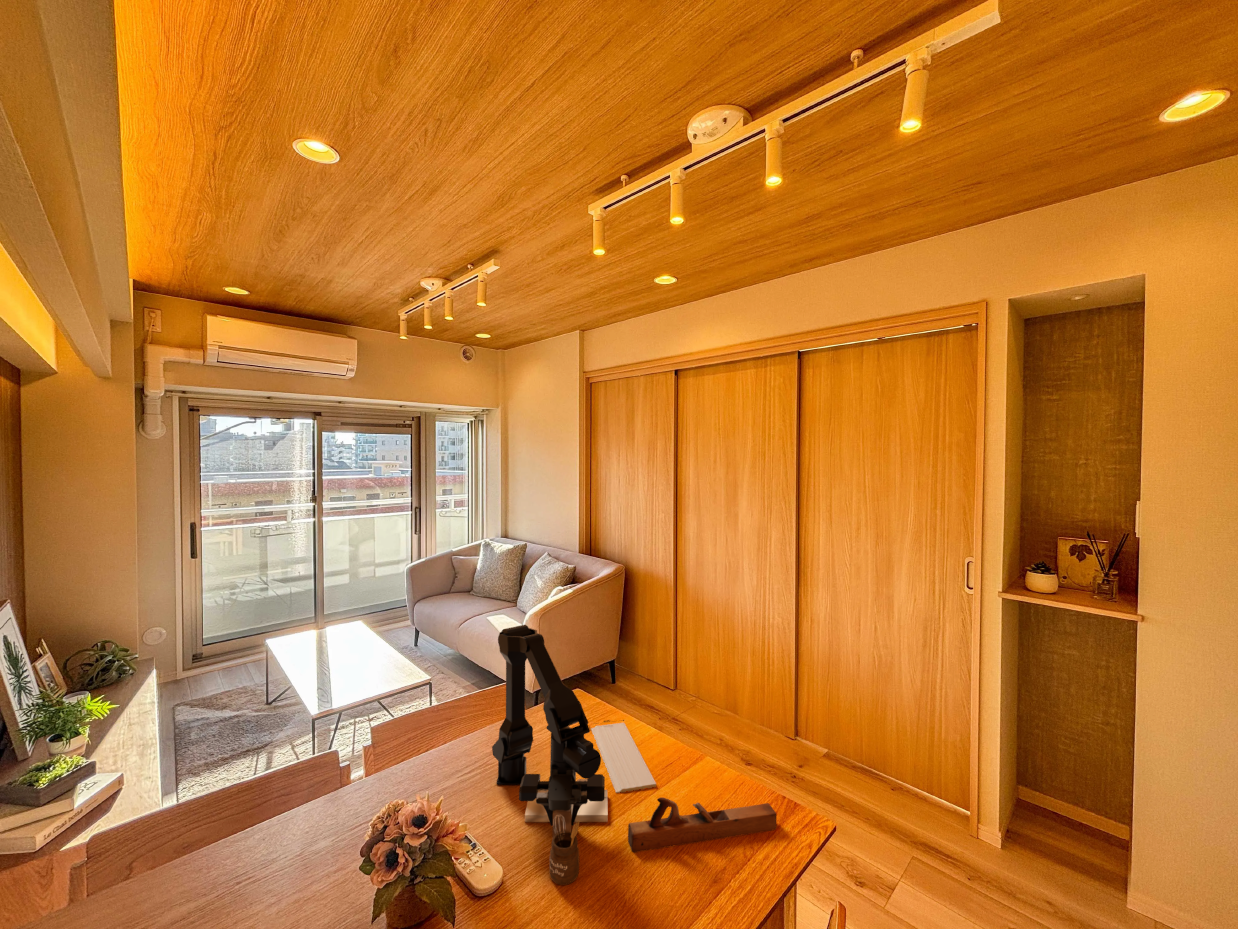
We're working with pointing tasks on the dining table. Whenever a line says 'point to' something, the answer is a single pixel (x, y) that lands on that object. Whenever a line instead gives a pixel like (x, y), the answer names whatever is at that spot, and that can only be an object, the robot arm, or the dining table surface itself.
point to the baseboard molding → (622, 758)
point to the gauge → (560, 824)
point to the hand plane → (698, 825)
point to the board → (586, 813)
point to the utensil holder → (564, 856)
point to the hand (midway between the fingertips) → (562, 824)
